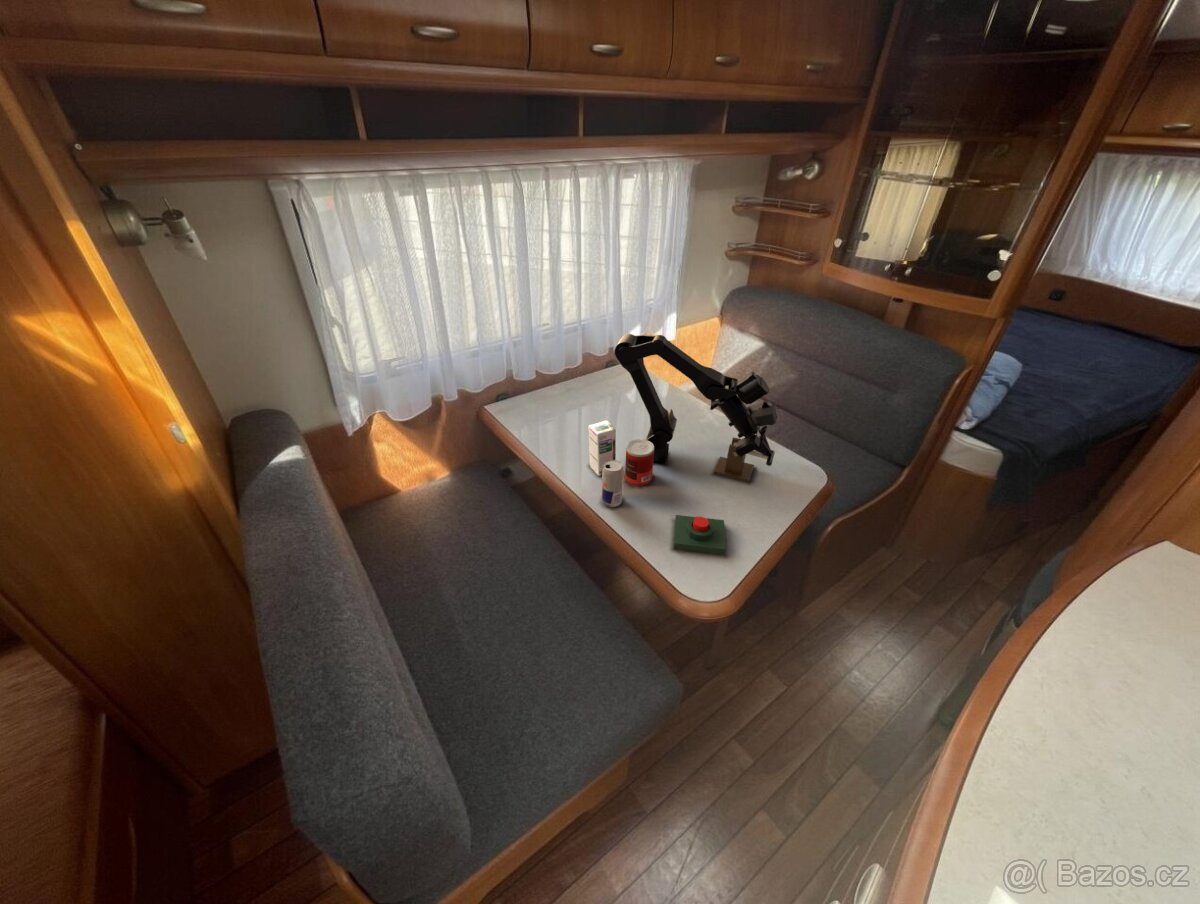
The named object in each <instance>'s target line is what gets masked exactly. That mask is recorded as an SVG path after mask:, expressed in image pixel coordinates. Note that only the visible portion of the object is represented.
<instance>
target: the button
mask: <svg viewBox="0 0 1200 904" xmlns="http://www.w3.org/2000/svg"><path fill="white" fill-rule="evenodd" d="M695 517H696V518H695V519H694V521H693V528H694V529H695V530H696V531H698V532H705V531H707V530H708V525H709V521H708V520H707V519H706V518H707V517H705V518H704V516H695Z"/></svg>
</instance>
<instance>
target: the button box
mask: <svg viewBox="0 0 1200 904" xmlns="http://www.w3.org/2000/svg"><path fill="white" fill-rule="evenodd" d="M696 517H697V516H691V515H681V514H675V517H674V518H675V519H674V528H673V529H674V530H673V546H672V547H673V548H672V550H676V551H684V552H690V553H691V552H692V553H699V554H708V555H714V556H715V555H716V556H725V555H726V548H727V547H726V529H725V520H724V519H718V518H709V517H704V516H703V517H704V518H706V519H707V520H708V521H709V525H708V530H707V531H705V532H698V531H696V530H695V529H694V528H693V521H694V519H695V518H696Z"/></svg>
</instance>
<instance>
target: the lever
mask: <svg viewBox="0 0 1200 904" xmlns="http://www.w3.org/2000/svg"><path fill="white" fill-rule="evenodd" d="M734 445H735V446H736V445H737V442H735V443H734ZM771 452H772V455H771V456H769V457H768V456H766V455H764V454H762V453H760V452H758V451H755V450H754V451H752V452H749V453H747V454H746V455H748V456H749V455H750V456H753V457H757V458H760V459H764V460H766V462H765V465H766V466H768V467H770V466H772V464H773V462H774V457H775V453H776V452H775V450H773V449H771Z"/></svg>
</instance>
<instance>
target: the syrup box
mask: <svg viewBox="0 0 1200 904" xmlns="http://www.w3.org/2000/svg"><path fill="white" fill-rule="evenodd" d="M616 433H617V429H616V428H615V427H614V426H613V425H612V424H611V423H610V421H608V420H603V421H601V422H600V421H599V422H597V423H593V424H589V425H588V443H589V445H588V446H589V448H588V449H589V466H590V468H591V469H592V471H594V472H595V474H596V475H597V476H598V477H600V476H602V467H603V464H604V462H606V461H608V460H617V459H616V455H617V454H616V453H617V452H616V450H617V448H616V446H617V445H616V443H617V442H616V439H617V438H616V437H617V434H616Z"/></svg>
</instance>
